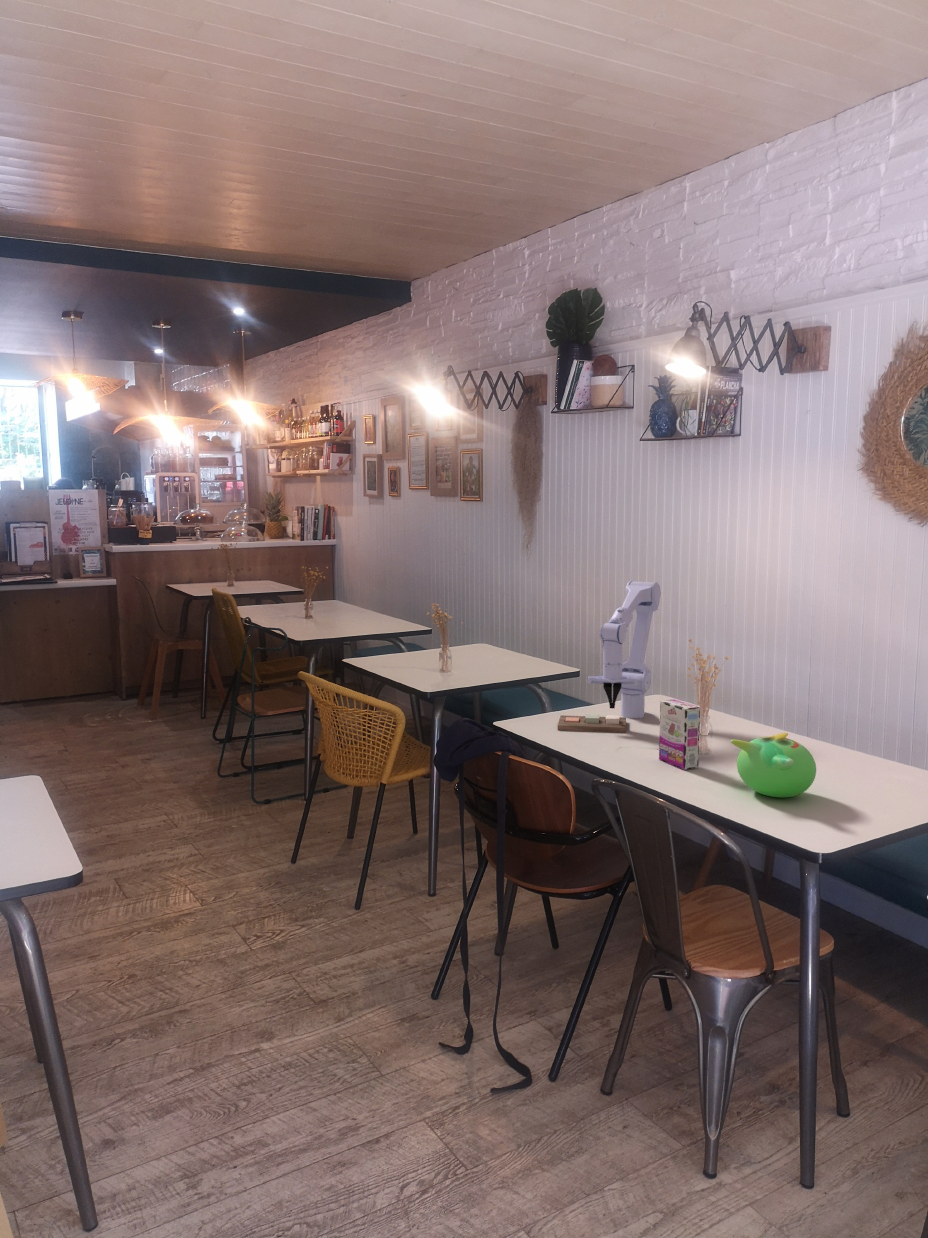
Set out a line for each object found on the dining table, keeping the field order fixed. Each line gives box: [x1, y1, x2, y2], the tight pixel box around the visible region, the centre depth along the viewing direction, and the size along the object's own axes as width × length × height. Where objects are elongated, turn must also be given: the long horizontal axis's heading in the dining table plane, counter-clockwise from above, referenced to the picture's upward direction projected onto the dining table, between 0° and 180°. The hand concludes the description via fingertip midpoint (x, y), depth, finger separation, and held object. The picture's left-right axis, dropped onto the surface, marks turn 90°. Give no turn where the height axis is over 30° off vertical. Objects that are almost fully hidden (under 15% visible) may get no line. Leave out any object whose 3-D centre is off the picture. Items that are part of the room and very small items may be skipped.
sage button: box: [585, 714, 600, 723], centre depth 275 cm, size 4×4×3 cm
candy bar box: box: [658, 699, 701, 771], centre depth 241 cm, size 11×5×16 cm, turn 25°
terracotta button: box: [565, 717, 579, 723], centre depth 276 cm, size 4×4×3 cm
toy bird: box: [730, 732, 817, 798], centre depth 216 cm, size 18×17×15 cm
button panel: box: [557, 714, 627, 734], centre depth 275 cm, size 12×20×3 cm, turn 80°
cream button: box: [605, 714, 620, 724], centre depth 274 cm, size 4×4×3 cm
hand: (612, 707), depth 273 cm, fingers closed
